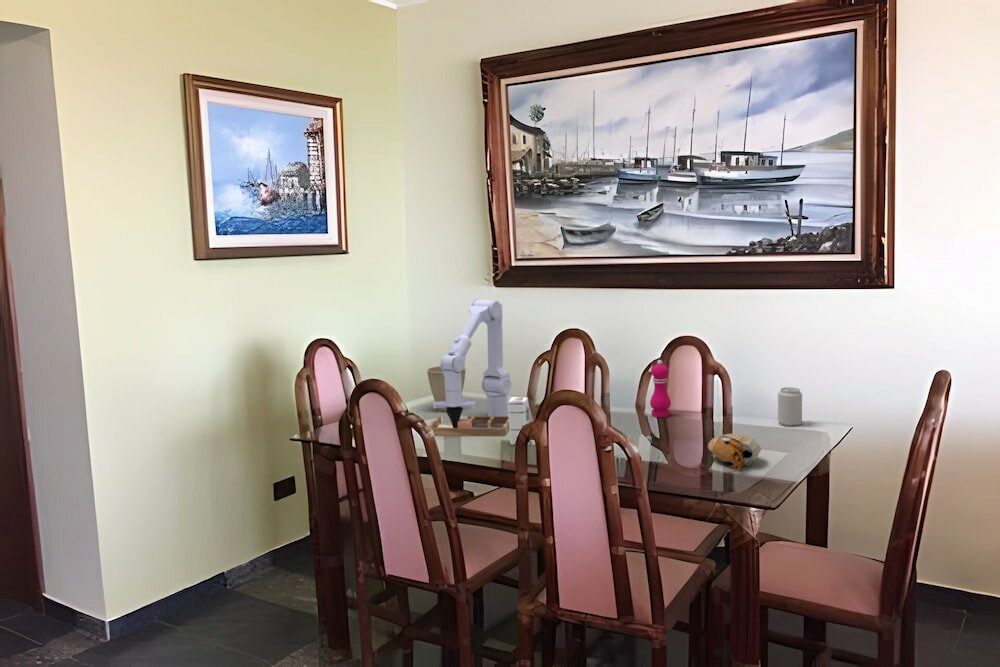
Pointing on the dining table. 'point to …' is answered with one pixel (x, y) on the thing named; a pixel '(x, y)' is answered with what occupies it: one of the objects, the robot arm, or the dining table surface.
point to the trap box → (473, 427)
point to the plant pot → (440, 383)
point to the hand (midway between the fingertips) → (455, 428)
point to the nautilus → (735, 449)
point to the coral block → (465, 423)
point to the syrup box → (517, 415)
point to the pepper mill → (660, 391)
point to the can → (790, 406)
